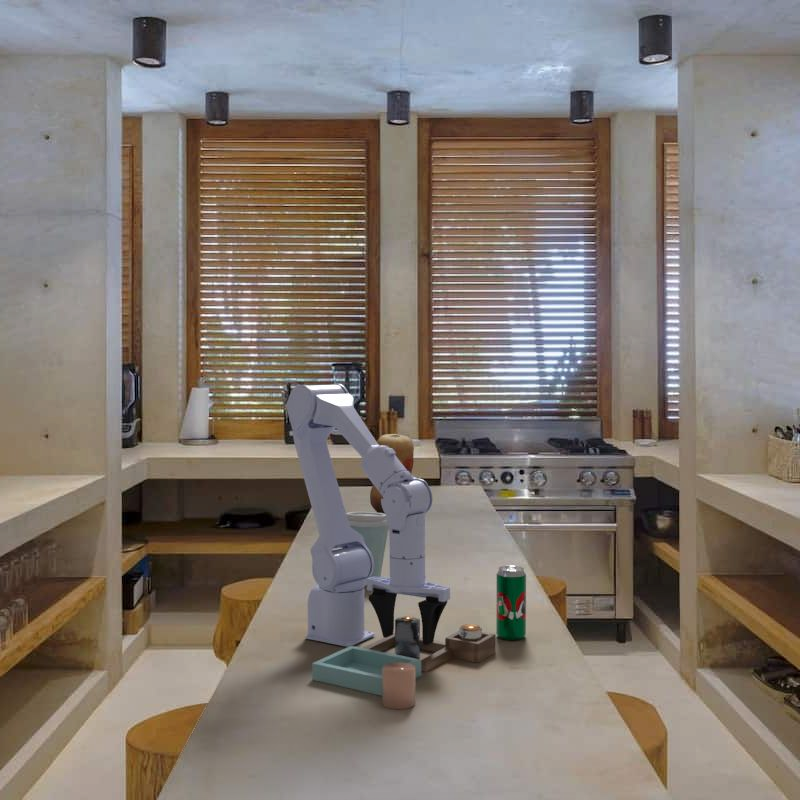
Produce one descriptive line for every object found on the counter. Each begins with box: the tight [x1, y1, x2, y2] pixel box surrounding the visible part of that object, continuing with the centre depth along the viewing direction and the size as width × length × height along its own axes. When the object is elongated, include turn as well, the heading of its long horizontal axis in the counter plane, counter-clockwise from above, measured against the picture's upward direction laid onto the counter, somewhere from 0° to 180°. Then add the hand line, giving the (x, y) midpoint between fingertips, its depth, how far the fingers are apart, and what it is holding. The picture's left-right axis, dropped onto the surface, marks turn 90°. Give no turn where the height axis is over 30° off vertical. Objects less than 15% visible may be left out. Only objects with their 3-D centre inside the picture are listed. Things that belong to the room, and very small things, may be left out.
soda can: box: [495, 565, 527, 642], centre depth 159 cm, size 5×5×12 cm
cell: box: [394, 615, 421, 659], centre depth 149 cm, size 4×4×6 cm
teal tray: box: [311, 645, 422, 697], centre depth 139 cm, size 13×10×2 cm
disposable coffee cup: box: [346, 511, 389, 578], centre depth 200 cm, size 11×11×15 cm
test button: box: [458, 623, 483, 642], centre depth 150 cm, size 4×4×3 cm
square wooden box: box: [444, 630, 497, 664], centre depth 150 cm, size 6×6×3 cm
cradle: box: [362, 632, 453, 673], centre depth 149 cm, size 12×10×2 cm
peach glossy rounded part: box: [382, 662, 416, 710], centre depth 129 cm, size 5×5×5 cm
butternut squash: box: [369, 433, 415, 514], centre depth 280 cm, size 14×13×25 cm
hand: (407, 639), depth 149 cm, fingers open, 7 cm apart
